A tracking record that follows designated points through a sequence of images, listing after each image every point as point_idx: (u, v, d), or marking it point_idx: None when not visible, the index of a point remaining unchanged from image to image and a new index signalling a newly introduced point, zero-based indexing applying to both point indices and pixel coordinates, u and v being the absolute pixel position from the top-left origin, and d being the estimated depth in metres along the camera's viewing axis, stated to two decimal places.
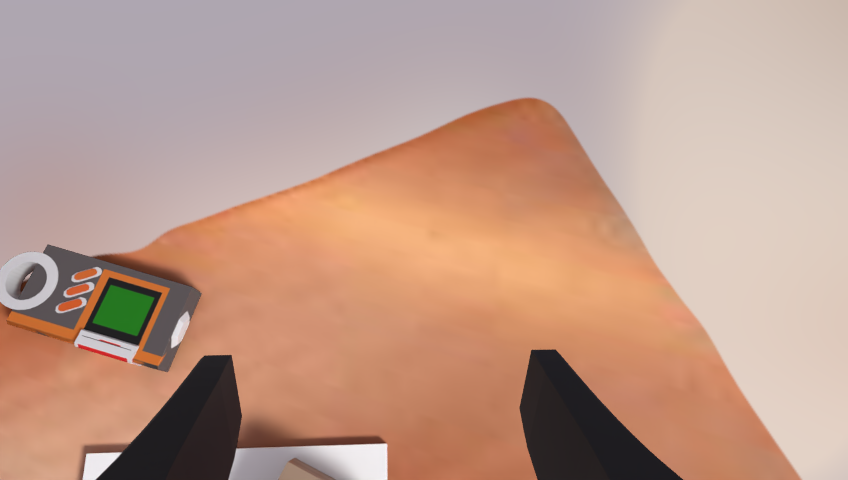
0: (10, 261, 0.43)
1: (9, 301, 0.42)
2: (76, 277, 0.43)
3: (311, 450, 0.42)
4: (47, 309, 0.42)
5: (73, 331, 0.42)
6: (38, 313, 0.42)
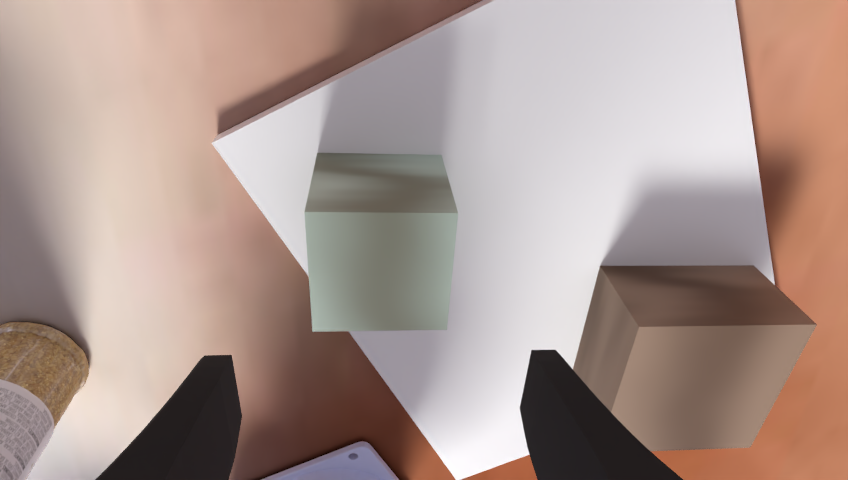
0: None
1: None
2: None
3: None
4: None
5: None
6: None
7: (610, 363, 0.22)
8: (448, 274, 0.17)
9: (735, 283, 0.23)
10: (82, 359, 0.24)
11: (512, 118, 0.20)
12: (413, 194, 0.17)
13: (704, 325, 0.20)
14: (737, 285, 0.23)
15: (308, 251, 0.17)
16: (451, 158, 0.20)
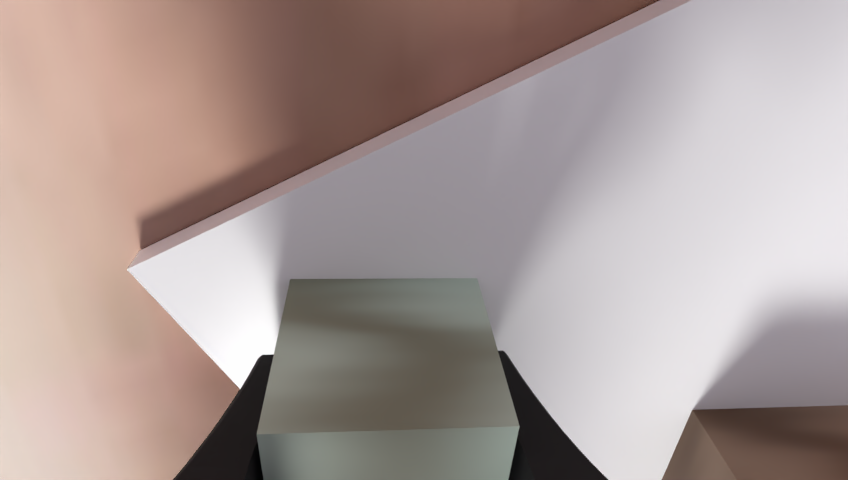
0: None
1: None
2: None
3: None
4: None
5: None
6: None
7: None
8: None
9: None
10: None
11: (586, 227, 0.13)
12: (440, 376, 0.11)
13: None
14: None
15: None
16: (491, 282, 0.14)
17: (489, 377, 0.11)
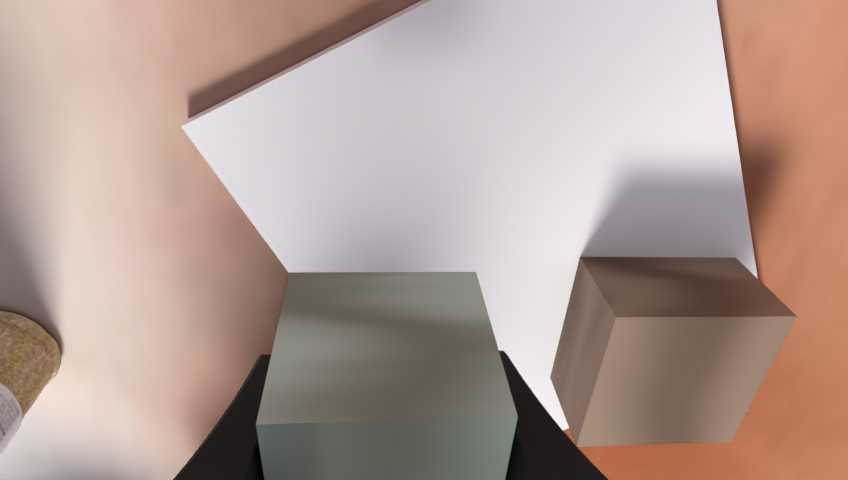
0: None
1: None
2: None
3: None
4: None
5: None
6: None
7: (588, 355, 0.22)
8: None
9: (716, 275, 0.22)
10: (53, 348, 0.24)
11: (488, 104, 0.19)
12: (439, 367, 0.11)
13: (682, 316, 0.20)
14: (718, 277, 0.22)
15: (266, 475, 0.10)
16: (426, 144, 0.20)
17: (488, 369, 0.11)
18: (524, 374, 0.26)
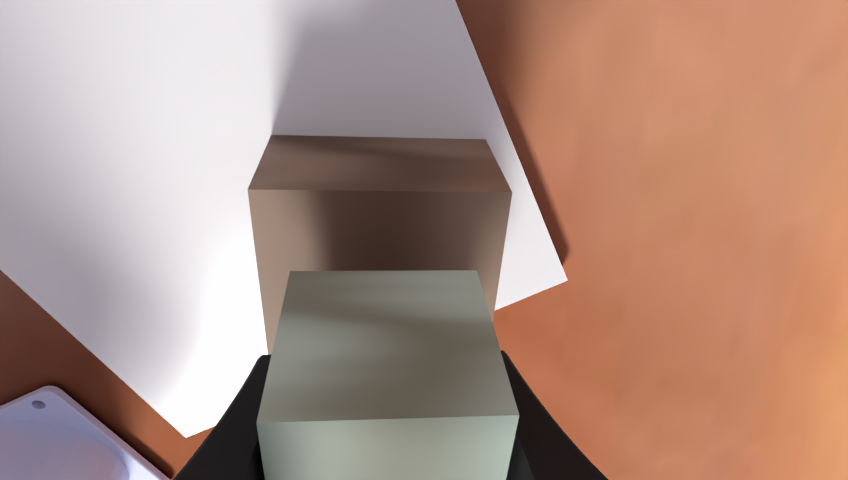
0: None
1: None
2: None
3: (510, 163, 0.19)
4: None
5: None
6: None
7: None
8: None
9: (440, 153, 0.17)
10: None
11: None
12: (440, 366, 0.11)
13: (346, 190, 0.14)
14: (441, 155, 0.17)
15: (266, 474, 0.10)
16: None
17: (489, 367, 0.11)
18: (252, 303, 0.21)
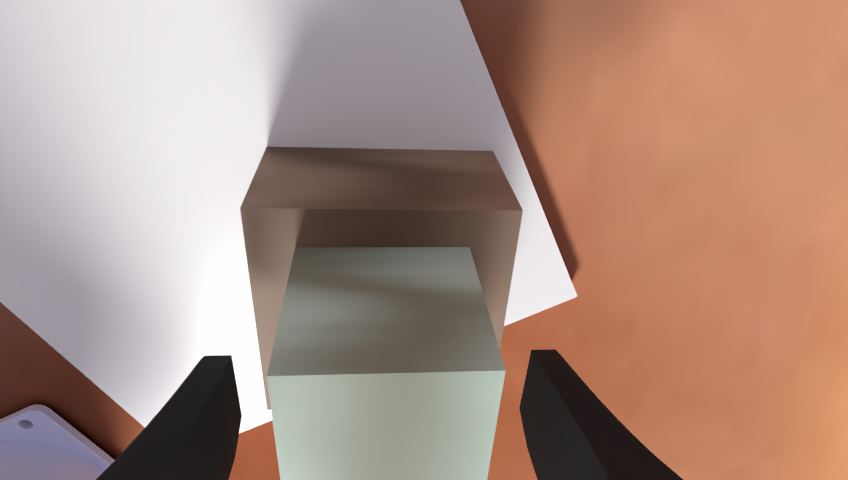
0: None
1: None
2: None
3: (519, 175, 0.18)
4: None
5: None
6: None
7: None
8: (486, 446, 0.12)
9: (446, 167, 0.16)
10: None
11: None
12: (434, 329, 0.12)
13: (346, 208, 0.14)
14: (447, 169, 0.16)
15: (275, 425, 0.11)
16: None
17: (479, 330, 0.12)
18: (247, 321, 0.20)
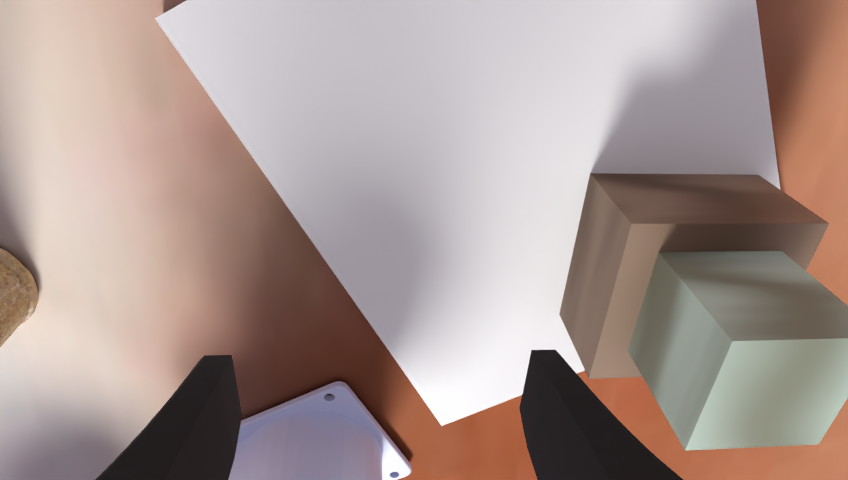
0: None
1: None
2: None
3: None
4: None
5: None
6: None
7: (601, 275, 0.20)
8: (845, 393, 0.16)
9: (738, 189, 0.21)
10: (29, 280, 0.22)
11: None
12: (812, 310, 0.16)
13: (703, 223, 0.18)
14: (740, 190, 0.21)
15: (717, 377, 0.16)
16: (422, 40, 0.18)
17: (843, 310, 0.16)
18: (532, 310, 0.25)
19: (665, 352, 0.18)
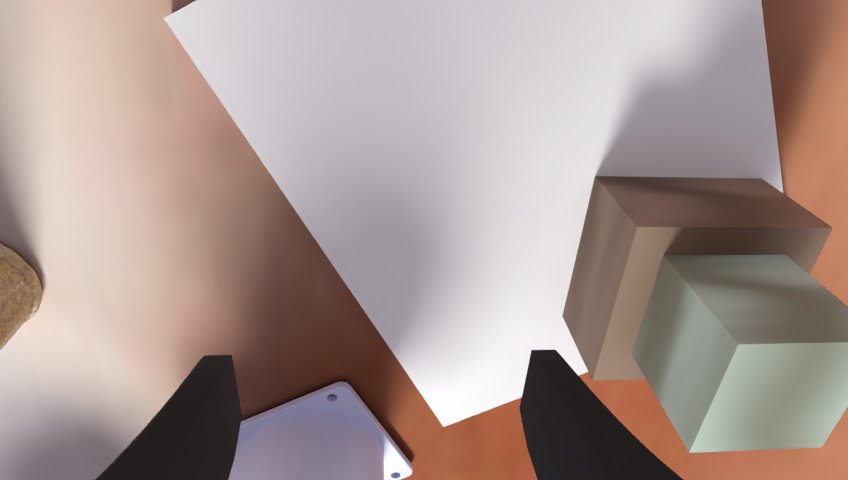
0: None
1: None
2: None
3: None
4: None
5: None
6: None
7: (606, 278, 0.20)
8: None
9: (742, 192, 0.21)
10: (33, 279, 0.22)
11: None
12: (816, 314, 0.16)
13: (709, 226, 0.18)
14: (744, 194, 0.21)
15: (723, 380, 0.16)
16: (430, 42, 0.18)
17: (847, 314, 0.16)
18: (535, 312, 0.25)
19: (669, 354, 0.18)
